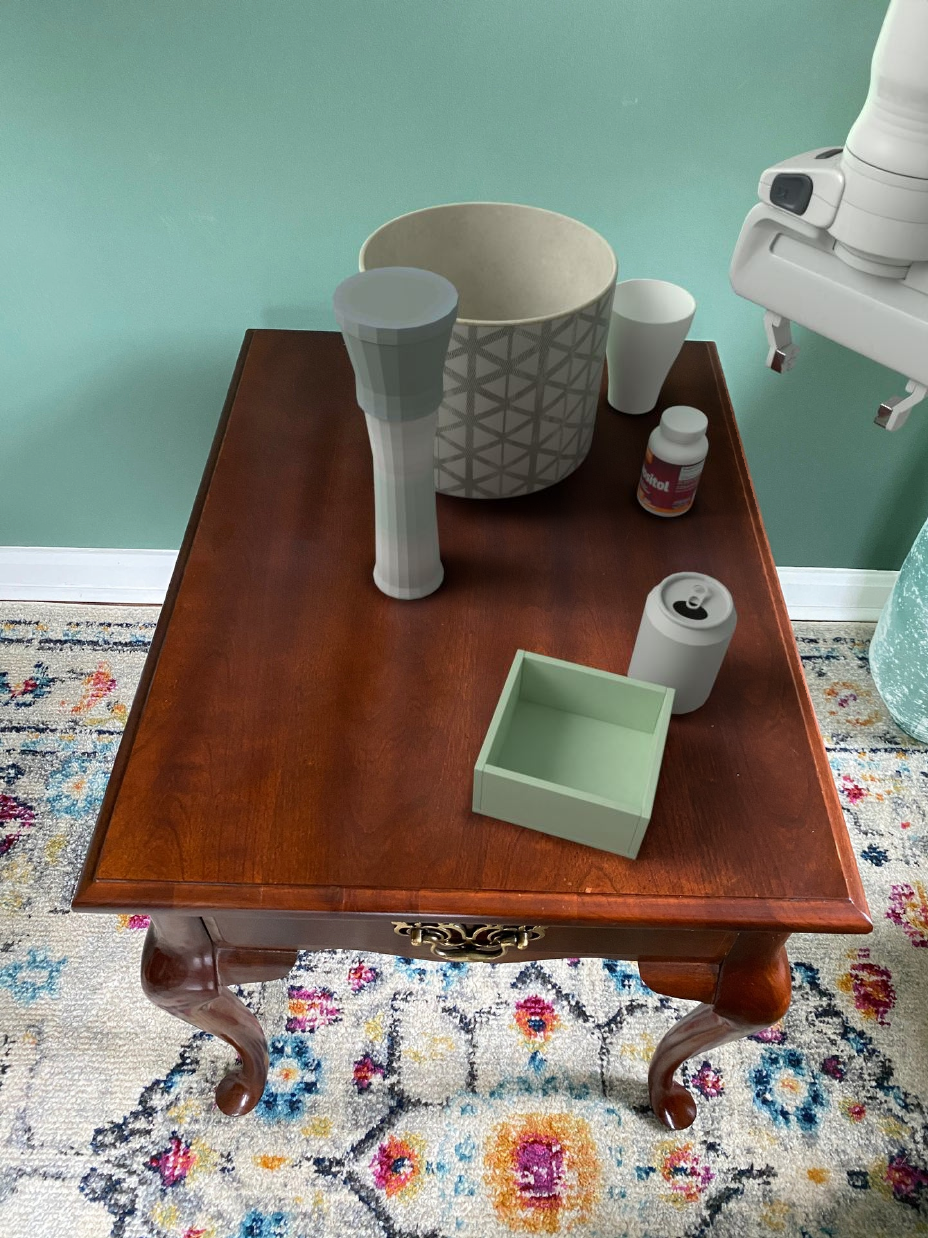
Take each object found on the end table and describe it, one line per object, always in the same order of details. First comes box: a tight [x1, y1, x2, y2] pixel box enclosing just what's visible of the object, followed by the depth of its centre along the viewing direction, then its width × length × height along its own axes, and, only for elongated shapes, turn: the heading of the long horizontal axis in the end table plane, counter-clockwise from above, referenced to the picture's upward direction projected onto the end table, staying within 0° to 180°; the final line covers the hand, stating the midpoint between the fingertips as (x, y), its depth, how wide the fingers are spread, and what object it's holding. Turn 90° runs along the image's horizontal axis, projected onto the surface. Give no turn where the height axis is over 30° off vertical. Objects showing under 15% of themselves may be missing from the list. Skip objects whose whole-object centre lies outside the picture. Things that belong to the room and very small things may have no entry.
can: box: [626, 571, 738, 715], centre depth 74 cm, size 8×8×12 cm
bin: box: [472, 648, 676, 860], centre depth 70 cm, size 13×12×7 cm
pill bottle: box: [636, 405, 709, 518], centre depth 92 cm, size 6×6×11 cm
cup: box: [605, 278, 697, 415], centre depth 103 cm, size 10×10×14 cm
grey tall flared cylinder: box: [332, 267, 458, 601], centre depth 76 cm, size 10×10×30 cm
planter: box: [358, 201, 619, 500], centre depth 92 cm, size 25×25×24 cm
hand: (831, 395), depth 63 cm, fingers open, 8 cm apart
